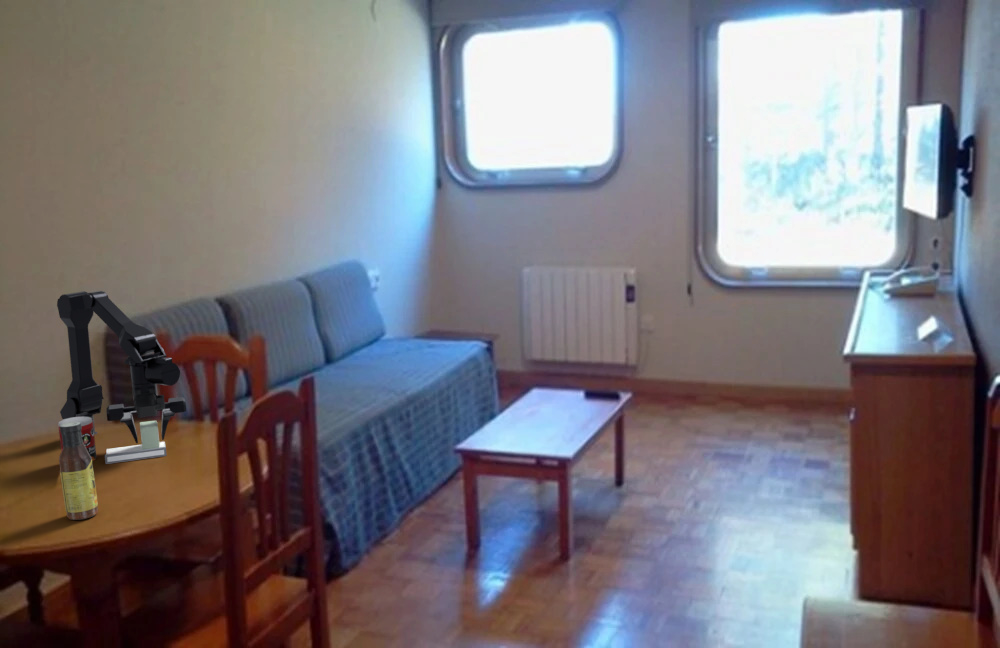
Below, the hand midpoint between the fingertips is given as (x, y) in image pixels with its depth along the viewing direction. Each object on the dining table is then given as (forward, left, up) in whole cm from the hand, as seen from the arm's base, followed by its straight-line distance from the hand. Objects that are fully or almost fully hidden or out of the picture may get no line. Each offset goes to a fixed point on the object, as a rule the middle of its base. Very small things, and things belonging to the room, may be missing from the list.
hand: (150, 441), depth 238 cm
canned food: (+3, -16, -3) cm, 17 cm away
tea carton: (0, 0, -2) cm, 2 cm away
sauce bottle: (+42, -14, -3) cm, 44 cm away
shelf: (+3, -3, -2) cm, 5 cm away
